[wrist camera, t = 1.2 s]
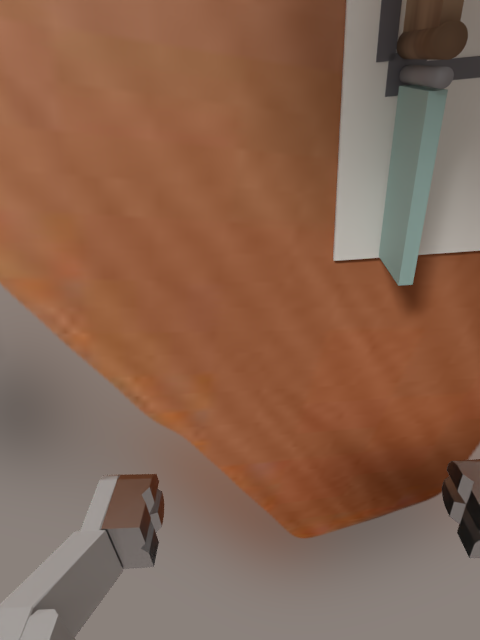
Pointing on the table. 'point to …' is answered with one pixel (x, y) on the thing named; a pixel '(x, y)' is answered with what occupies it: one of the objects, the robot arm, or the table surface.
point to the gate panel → (412, 166)
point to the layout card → (378, 127)
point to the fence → (432, 30)
